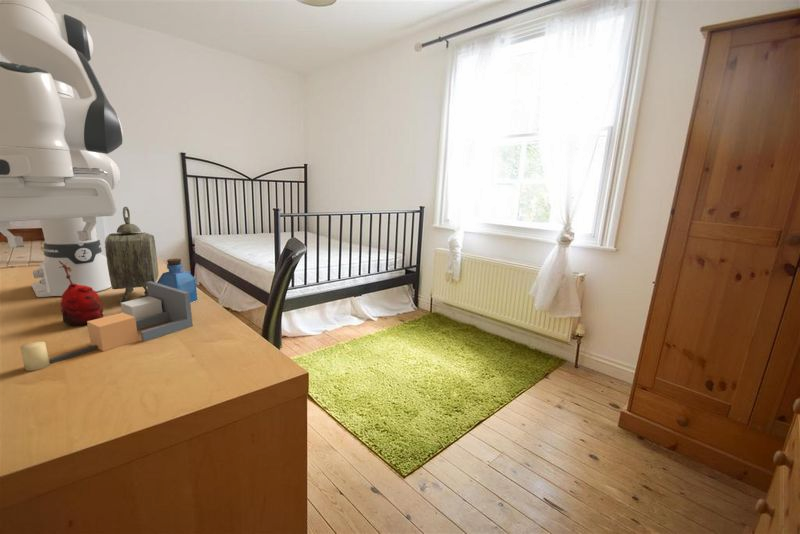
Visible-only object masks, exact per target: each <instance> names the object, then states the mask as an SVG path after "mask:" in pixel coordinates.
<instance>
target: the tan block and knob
mask: <svg viewBox="0 0 800 534" xmlns="http://www.w3.org/2000/svg"><path fill="white" fill-rule="evenodd" d="M118 313H119V314H117V313H114V314H115V315H113V314H110V315H111V316H109V315H106V316H107V317H106V316H103V317H102V318H99V319H95V320H91V321H87V329H88V335H89V341H90V346H87V347H85V348H81V349H77V350H73V351H71V352H67V353H64V354H61V355H57V356H54V357H52V358H49V354H48V349H47V344H46V341H35V342H29V343H27V344H24V345H21V346H20V352H21V356H22V357H21V358H22V361H23V365H24V366H23V367H24V370H25V371H26V372H33V371H39V370H42V369H44V368H47V367H48V366H49V365H50V364H53V363H56V362H59V361H63V360H66V359H69V358H73V357H76V356H78V355H82V354H86V353H88V352H92V351H95V350H100V351H102V352H105V351H108V350H112V349H115V348H119V347H121V346H124V345H127V344H131V343H134V342H137V341H139V334H138V330H137V327H136V320H135V317H133V316H130V315H128V314H125V313H121V312H118Z"/></svg>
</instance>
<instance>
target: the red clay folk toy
mask: <svg viewBox="0 0 800 534" xmlns="http://www.w3.org/2000/svg"><path fill="white" fill-rule="evenodd" d="M59 262H60V264H62V265H63V266H61V267H63V268H64V270H65V272H66V274H67V275H66V278H67V279H69V281H70V285H69V286H68V288H67V289H66V290H65V292H64V293H63V294H62V296H61V303H60V307H61V309H60V311H61V314H62V316H61V317H62V321H63V324H65V325H67V326H84V325H86V326H88V324H87V321H91V320H95V319H99V318H103V317H104V314H103V313H104V308H103V304H102V303H103V302H101V299H100V298H99V295H98V293H97V292H96V291H94V290H93V289H92V288H91V287H88V286H84V285H77V284H74V283H72V281H71V279H70V276H71V275H69V274H68V271H71V268H70V267H66V264H67V262H66V264H63V263H62V262H61V261H59ZM61 267H59V268H61ZM67 270H68V271H67Z"/></svg>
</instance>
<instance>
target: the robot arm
mask: <svg viewBox="0 0 800 534" xmlns="http://www.w3.org/2000/svg"><path fill="white" fill-rule="evenodd" d="M93 53H94V42H93V38H92V35H91V34H90V32H89V30H88V29H87V27H86V25H85V24H84V23H83V22H82V21H81V20H80V19H78V18H76V17H73V16H71V15H68V14H65V13H64V14H61V13H58V12H57V11H56V12H55V11H53V10H52V7H51V6H50V4H49V3H48V2H47V1H46V0H0V55H1V56H2V57H3V58H5V60H7V61H9V62H6V61H0V233H1V234H2V235H3V236H4V237H6V239H7V242H8V243H7V244H8V246H9V248H10V249H17V248H24V247H25V243H24V238H23V236H20V235H14V234H13V233H12V232H11V231H9V230H8V229H11V228H12V226H11V222H22V221H23V222H25V221H39V223H40V226H41V228H42V229H41V230H42V233H43V238H44V243H43V248H42V249H43V255H44V259H43V261H42V263H41V264H40V266H39V268H38V269H35V270H32V276H33V279H39V281H34V282H32V283H31V288H33V289H32V290H34V291H33V292H35V293H34V294H36V295H35V296H37V297H36V298H45V297H62V294H63V293H64V292H65V290H66V289H67V288H68V286H69V285H70V281H69V279H67V278H66V275H67V274H66V272H65V270H64V268H63V267H61V266H63V265H62V264H60V262H59V261H61V262H62V263H63V264H66V262H67V264H66V267H70V268H71V271H68V270H67V271H68V274H69V275H71V276H70V279H71V281H72V283H74V284H77V285H84V286H88V287H91V288H92V289H93V290H94V291H96V293H97V292H100V291H101V292H102V291H104V290H108V289H110V288H112V286H111V282H110V277H109V271H108V265H107V258H106V256H105V255H104V254H102V251H103V250H102V244H101V240H100V239H98V233H97V226H96V224H97V217H98V218H99V217H112V216H114V215H115V214H116V213H117V211H118V210H117V204H116V201H115V197H114V193H113V191H112V190H114V189H115V188H117V186H118V185H119V183H120V180H121V171H120V168H119V166H118V165H117V163H116V162H115V160H113V159H112V158H111V157H110V156H108V154H110V153H112V152H114V151H116V150H117V149H118V148H119V147H121V146H122V145H123V142H124V141H123V140H124V129H123V124H122V122H121V120H120V118H119V116H118V114H117V112H116V111H115V109H114V107H113V106H112V105H111V103H110V101H109V100H108V98H107V96H106V94H105V92H104V90H103V88H102V86H101V84H100V81H99V80H98V78H97V76H96V73H95V71H94V70H93V68H92V66H91V65H90V61H91V58H92V56H93ZM73 89H74V90H75V91H76V92H77V93H76V94H77V95H78V96H79V98H75V94H74V90H73ZM59 267H61V268H59Z"/></svg>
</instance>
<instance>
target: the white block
mask: <svg viewBox="0 0 800 534" xmlns="http://www.w3.org/2000/svg"><path fill="white" fill-rule="evenodd" d="M120 309H121V312H122V313H125V314H128V315H130V316H133V317H135V320H137V319H141V318H144V317H148V316H152V315H155V314H159V313H163V312H162V304H161V300H159V299H156V298H153V297H150V296H145V297H141V298H135V299H131V300H127V302H122V303H121V302H120Z"/></svg>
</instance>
